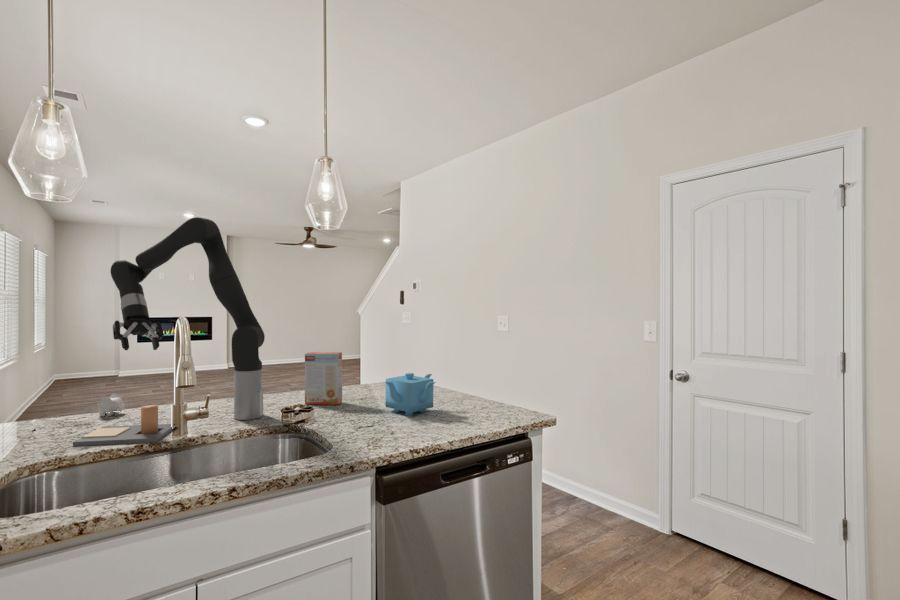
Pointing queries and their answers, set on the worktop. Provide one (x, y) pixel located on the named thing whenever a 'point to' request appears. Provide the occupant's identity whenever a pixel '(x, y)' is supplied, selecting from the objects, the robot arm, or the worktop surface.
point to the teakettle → (409, 393)
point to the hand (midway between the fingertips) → (141, 348)
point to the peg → (149, 419)
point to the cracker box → (323, 378)
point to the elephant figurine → (110, 405)
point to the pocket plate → (122, 435)
